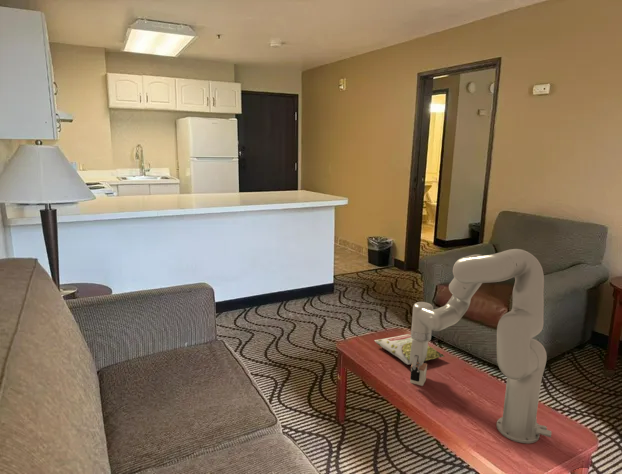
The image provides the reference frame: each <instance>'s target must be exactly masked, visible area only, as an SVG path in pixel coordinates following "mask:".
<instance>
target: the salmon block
mask: <svg viewBox="0 0 622 474" xmlns="http://www.w3.org/2000/svg"><path fill="white" fill-rule="evenodd" d="M417 363H418V362H417ZM418 364H419V363H418ZM410 365H411V366H410V370H411V369H412V364H410ZM416 367H417V369H418V366H417V365H416ZM427 369H428V363H427V362H426V363H423V364H422V365H421V366H420V369H419V372H420V376H419V381H414V380H411V375H409V376H410V380H409V382H410V383H411V384H413V385H418V386H422V387H423V386H424V385H425V383H426V379H427Z"/></svg>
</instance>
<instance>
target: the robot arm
mask: <svg viewBox="0 0 622 474" xmlns="http://www.w3.org/2000/svg"><path fill="white" fill-rule="evenodd" d="M543 270H544V269H543V267H542V265H541V263H540V261H539V260H538V258H537V257H536V256H534V255H533V254H532V253H530V252H529V251H526V250H525V249H520V248H513V249H512V248H510V249H507V250H503V251H499V252H496V253H492V254H486V255H483V254H478V253H477V254H470V255H467V256H464V257H460V258H459V259H457V260H456V261H455V263H454V265H453V267H452V275H453V278H452V280H451V281H450V282H449V284H448V291H449V292H450V294H452V295H451V297H450V298H449V300H448V301H447V303H445V305H443V306H441V307H438V308H435V309H434V306H433V305H432V304H431V303H429V302H426V301H417V302H415V303H414V304H413V307H412V316H411V317H412V318H411V330H410V331H411V332H410V335H411V338H412V339H413V340H412V345H411V352H410V360H409V362H410V364H409V365H412V369H411V368H410V376H411V380H414V381H419V376H420V372H419V369H420V366H421V365H422V364H423V363H426V364H427V361H425V360H426V356H427V350H428V346H429V342H430V341H431V340H432V331H434V332H440V331H442V330H445V329H447V328H448V327H451V326H454V325H456V324H457V323H458V322H459V321H460V320H461V319H462V317H463V316H464V315H465V314H466V312H467V311H468V309H469V307H470V304H471V302H472V301H471V299H472V297H473V296H474V295H475V294H476V292H477V291H478V290H479V288H480V287H481V286H482V284H485V283H497V282H498V283H500V282H504V281H507V280H510V279H513V278H514V280H515V281H514V284H513V289H512V306H511V310H510V311H508V312H506V313H505V314H503V315H502V316H501V317H500V318H499V320H498V323H497V327H496V363H497V365H498V366H497V367H498V368H499V370H500V372H501V373H502V374H503V375H504V376H505V377H507V378H506V385H505V394H504V402H503V403H504V404H503V411H502V416H501V417H500V418H498V419H497V421H496V428H497V430H498V432H499V433H500V434H501V435H502V436H504V437H505V438H507V439H509V440H510V441H512V442H515V443H521V444H533V443H536V442H537V441H539V439H540V437H541V436H544V437H548V438H552V430H549V429H547V428H548V427H547V426H546V425H543V424H539V423H538V422H537V420H538V419H537V413H538V406H539V401H540V400H539V399H540V394H541V393H540V392H541V385H542V381H543V375H544V372H545V368H546V364H547V359H548V358H547V351H546V349H545V347H544V345H543V344H542V343H541V342H540V341H538V340H537V339H535V337H537V335H540V333H541V332H542V330H543V329H544V315H545V314H544V309H545V308H544V307H545V306H544V304H545V301H544V300H545V299H544V290H545V288H544V286H545V277H544V271H543ZM417 362H418V363H419V364H418V363H417ZM411 363H413V364H411ZM416 365H417V366H418V369H417V367H416Z"/></svg>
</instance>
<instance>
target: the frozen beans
mask: <svg viewBox="0 0 622 474" xmlns="http://www.w3.org/2000/svg"><path fill="white" fill-rule="evenodd" d="M412 340H413V339H412V338H411V334H410V333H406V334H401V335H396V336H391V337H386V338H380V339H374V340H373V341H374V342H375V343H376V344H377V345H378V346H380V347H381V348H383V349H384V350H386V351H387V352H389V353H390V354H392V355H393V356H395V357H396V358H397V359H399V360H400V361H402V362H403V363H404V364H406V365H412V364H413V363H411V364H410V362H409V360H410V352H411V345H412ZM443 357H445V355H444V354H443V353H440V352H439V351H438V350H436V349H435V348H433V347H432V346H429V345H428V350H427V356H426V360H425V361H426V362H427V361H430V360H435V359H438V358H443Z"/></svg>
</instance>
